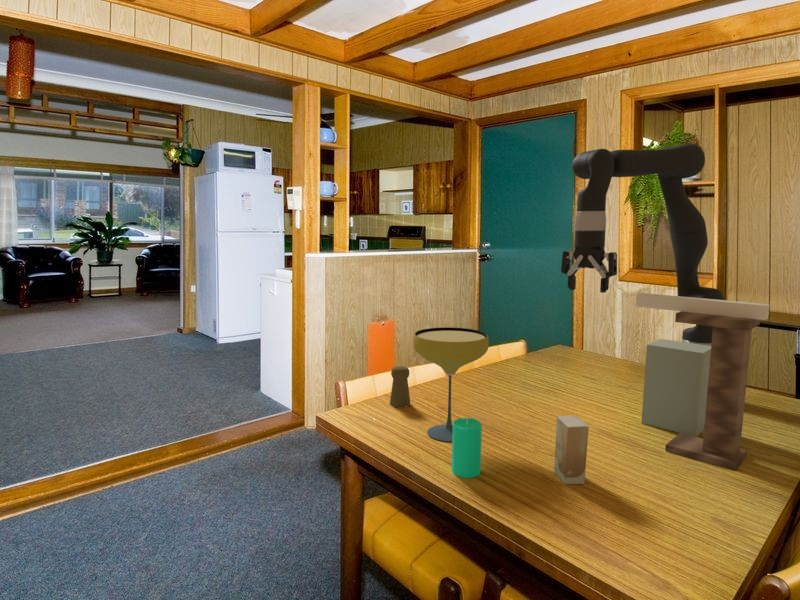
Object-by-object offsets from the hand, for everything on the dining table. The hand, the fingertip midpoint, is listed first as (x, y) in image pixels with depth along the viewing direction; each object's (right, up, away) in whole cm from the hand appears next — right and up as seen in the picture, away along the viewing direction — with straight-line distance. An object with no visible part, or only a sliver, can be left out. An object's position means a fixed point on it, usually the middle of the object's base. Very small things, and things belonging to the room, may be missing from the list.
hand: (587, 291), depth 142 cm
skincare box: (-15, -39, -32) cm, 53 cm away
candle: (-36, -38, -29) cm, 60 cm away
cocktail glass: (-37, -36, -9) cm, 52 cm away
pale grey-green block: (+22, -35, -2) cm, 41 cm away
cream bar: (+17, -5, -22) cm, 28 cm away
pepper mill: (-49, -33, +13) cm, 60 cm away
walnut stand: (+20, -37, -20) cm, 47 cm away
